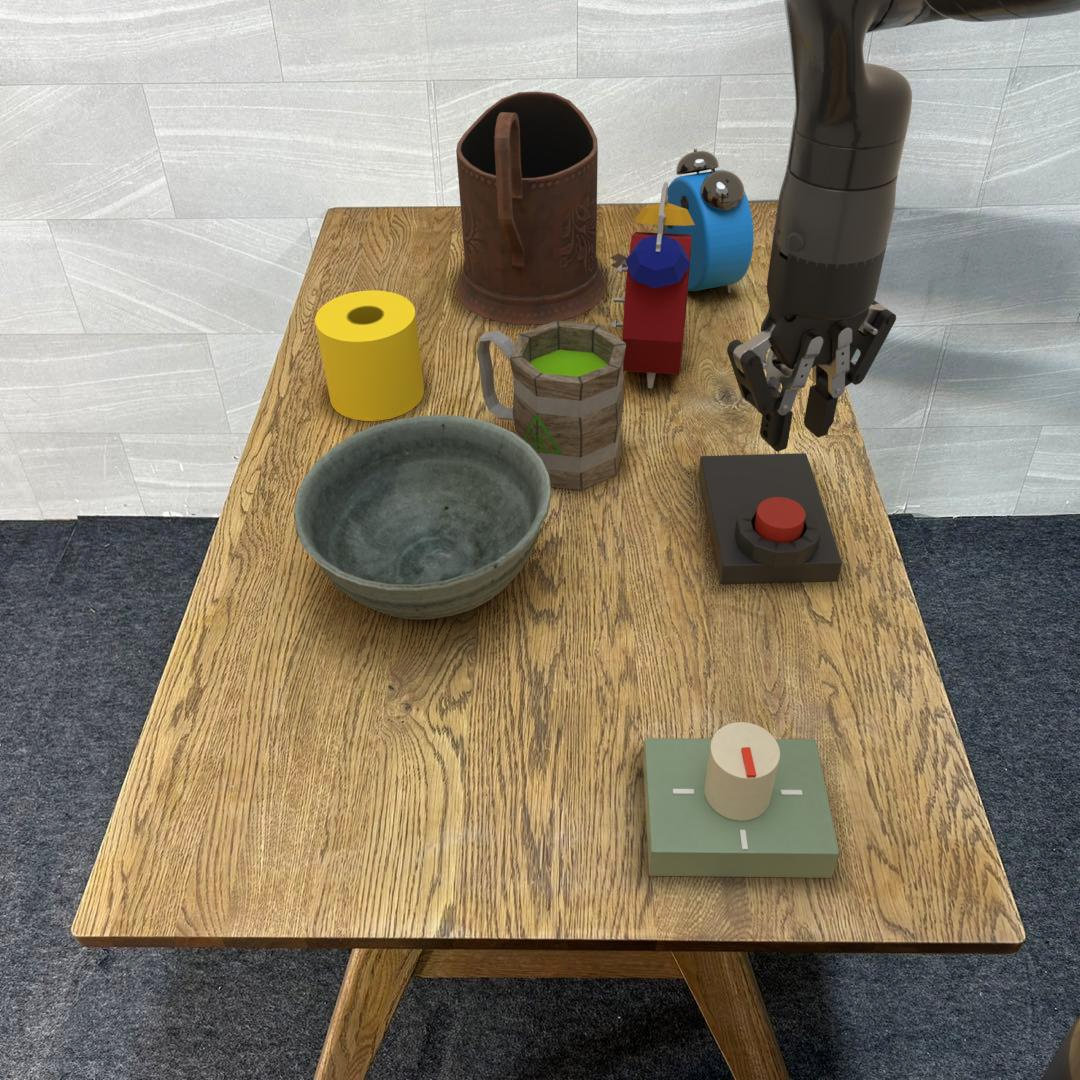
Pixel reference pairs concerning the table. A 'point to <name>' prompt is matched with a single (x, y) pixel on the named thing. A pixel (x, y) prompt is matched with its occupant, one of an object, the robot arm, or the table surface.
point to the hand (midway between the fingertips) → (794, 437)
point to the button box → (732, 513)
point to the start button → (779, 520)
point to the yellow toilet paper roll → (370, 354)
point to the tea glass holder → (529, 211)
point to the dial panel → (729, 845)
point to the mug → (563, 397)
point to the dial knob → (741, 771)
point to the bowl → (424, 514)
